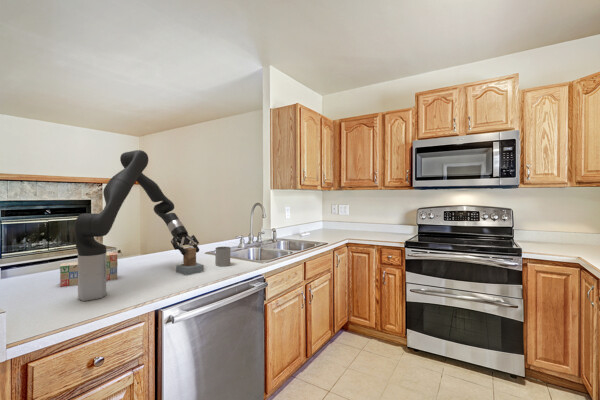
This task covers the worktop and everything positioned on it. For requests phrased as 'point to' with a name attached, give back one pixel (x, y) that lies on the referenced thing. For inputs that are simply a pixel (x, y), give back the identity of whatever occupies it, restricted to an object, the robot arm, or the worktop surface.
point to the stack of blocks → (71, 270)
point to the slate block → (189, 269)
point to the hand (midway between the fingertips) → (191, 252)
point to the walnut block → (189, 256)
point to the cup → (222, 256)
